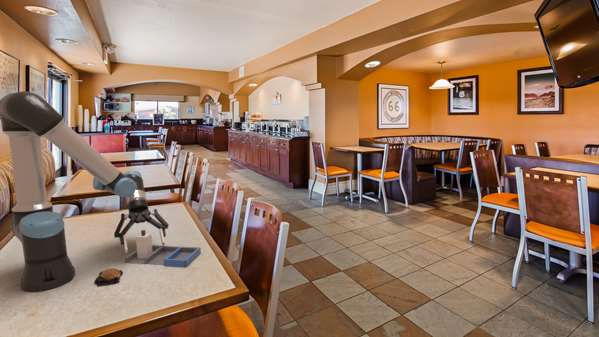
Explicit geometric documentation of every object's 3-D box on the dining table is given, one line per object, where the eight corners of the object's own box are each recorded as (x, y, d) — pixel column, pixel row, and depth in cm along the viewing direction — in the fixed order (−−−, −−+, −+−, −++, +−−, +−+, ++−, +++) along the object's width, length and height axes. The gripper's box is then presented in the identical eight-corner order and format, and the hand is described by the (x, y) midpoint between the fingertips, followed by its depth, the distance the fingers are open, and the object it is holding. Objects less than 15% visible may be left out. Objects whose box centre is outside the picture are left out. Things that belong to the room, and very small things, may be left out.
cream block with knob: (146, 258, 131) (144, 231, 130) (137, 258, 132) (135, 231, 130) (152, 254, 135) (150, 228, 134) (143, 254, 136) (141, 228, 134)
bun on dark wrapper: (98, 275, 120) (97, 266, 119) (124, 271, 123) (123, 262, 122) (92, 289, 110) (91, 279, 109) (120, 284, 113) (119, 274, 112)
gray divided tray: (185, 267, 124) (184, 260, 124) (123, 264, 127) (123, 257, 127) (200, 253, 138) (200, 246, 138) (144, 250, 141) (144, 243, 141)
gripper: (167, 203, 151) (176, 245, 141) (104, 212, 137) (109, 258, 127) (168, 194, 146) (179, 237, 135) (103, 202, 132) (109, 250, 122)
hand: (145, 247), depth 131 cm, fingers open, 13 cm apart
